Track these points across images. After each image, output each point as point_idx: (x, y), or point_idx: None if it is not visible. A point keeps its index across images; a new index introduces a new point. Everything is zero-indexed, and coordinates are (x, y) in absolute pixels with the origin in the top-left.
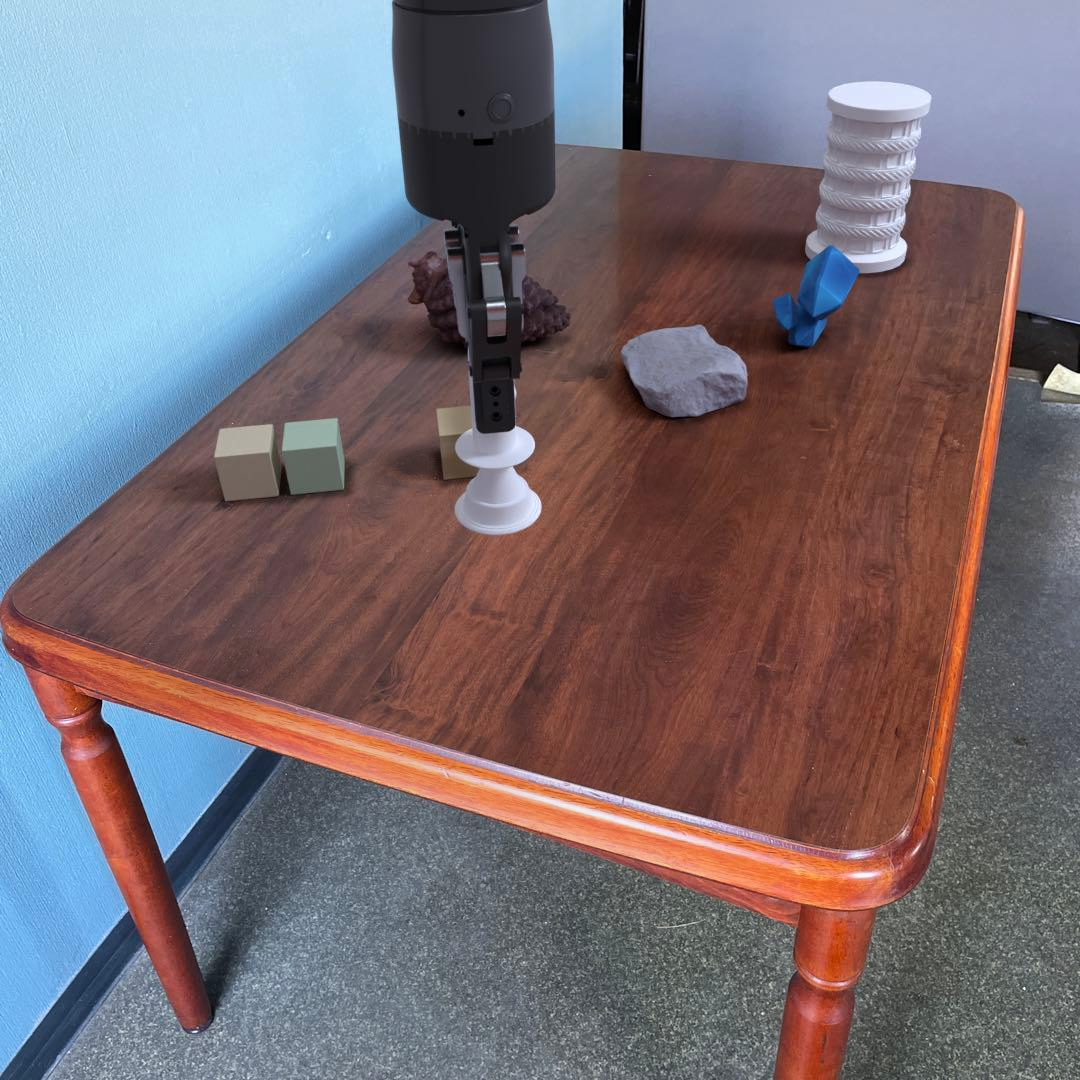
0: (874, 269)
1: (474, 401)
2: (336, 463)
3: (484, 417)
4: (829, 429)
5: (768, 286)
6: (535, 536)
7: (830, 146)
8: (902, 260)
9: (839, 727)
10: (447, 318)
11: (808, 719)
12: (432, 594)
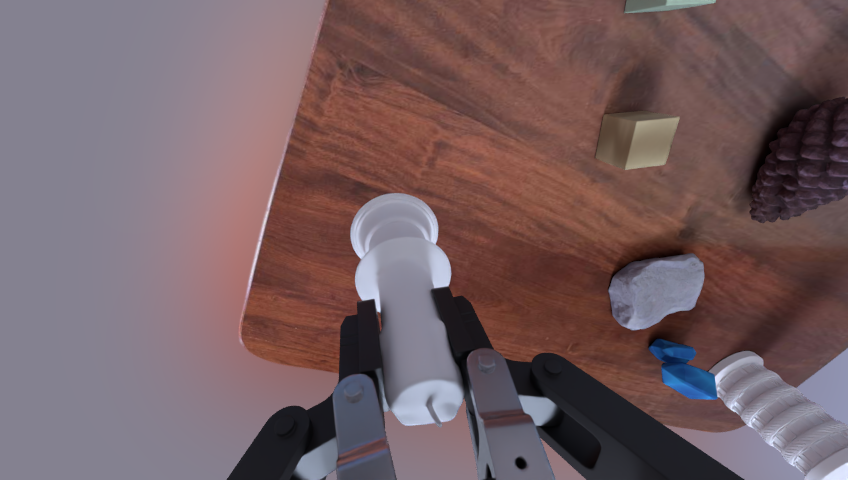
0: None
1: (363, 331)
2: (648, 5)
3: (341, 333)
4: (568, 351)
5: (724, 331)
6: (513, 188)
7: (824, 418)
8: None
9: (326, 340)
10: (820, 121)
11: (331, 328)
12: (461, 109)
